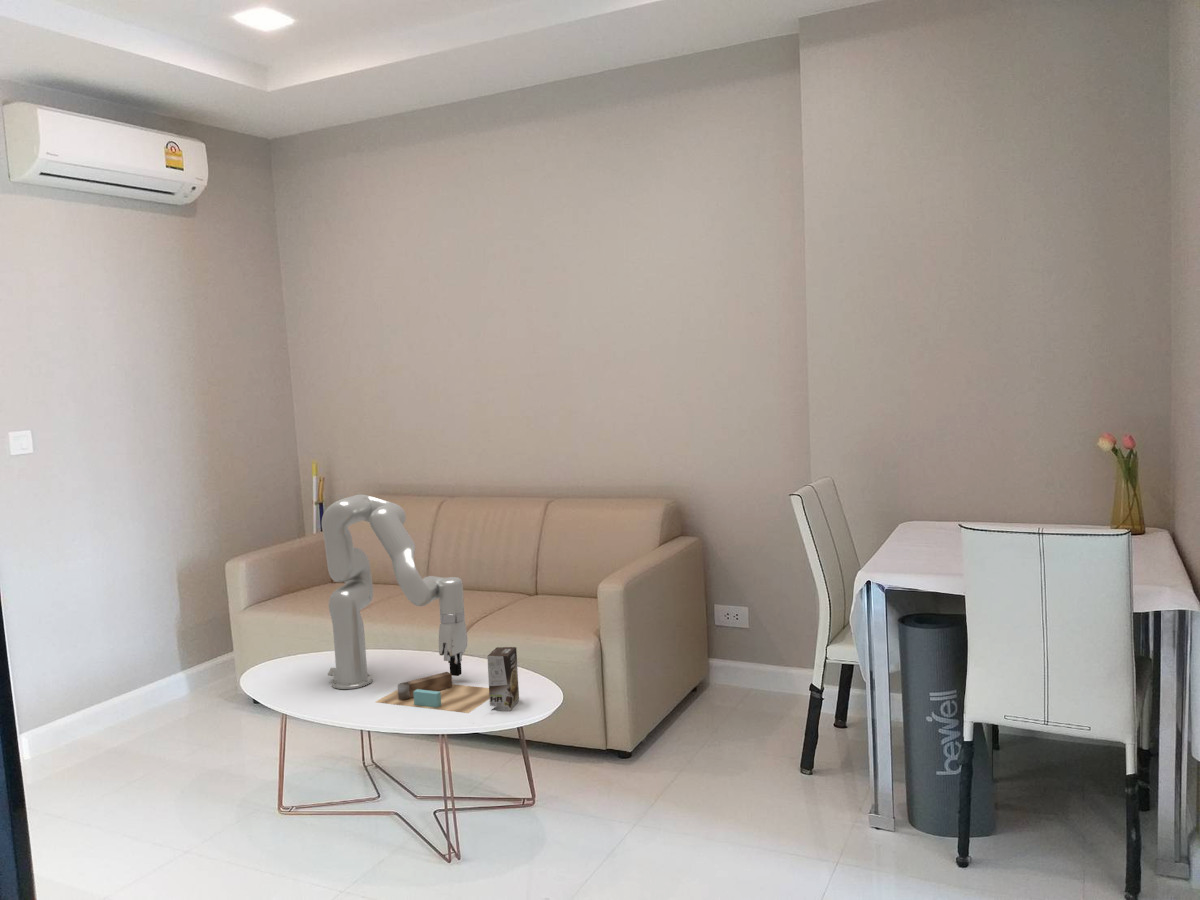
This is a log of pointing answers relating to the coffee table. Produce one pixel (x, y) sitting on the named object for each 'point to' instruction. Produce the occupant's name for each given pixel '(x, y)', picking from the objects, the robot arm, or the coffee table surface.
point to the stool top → (448, 698)
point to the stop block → (427, 698)
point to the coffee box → (503, 678)
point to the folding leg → (425, 685)
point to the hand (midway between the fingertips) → (455, 674)
